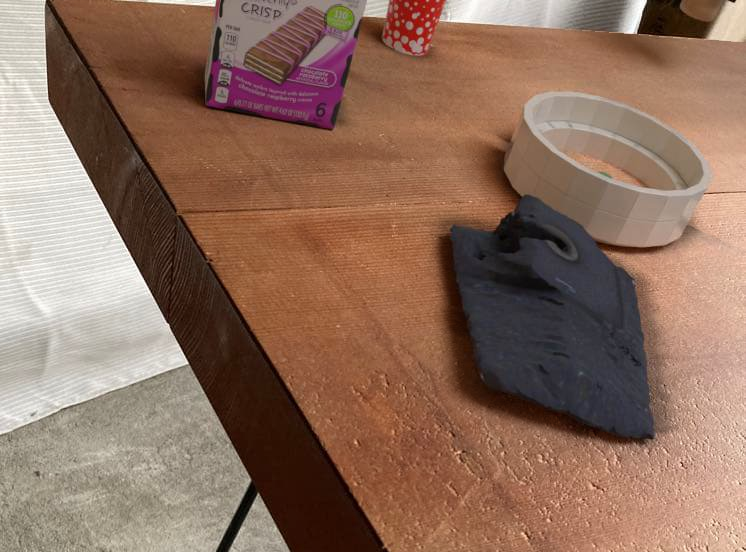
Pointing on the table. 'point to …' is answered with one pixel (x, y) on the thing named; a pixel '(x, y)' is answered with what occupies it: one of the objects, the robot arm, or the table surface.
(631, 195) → the wide hollow ring
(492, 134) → the table surface
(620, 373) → the dark slate chunk
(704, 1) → the cylinder
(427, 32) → the beverage cup
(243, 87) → the candy bar box
